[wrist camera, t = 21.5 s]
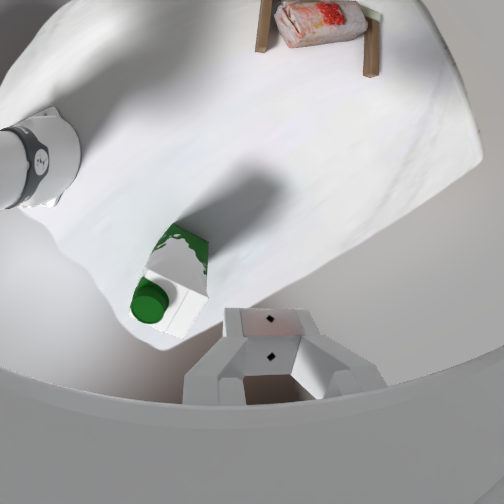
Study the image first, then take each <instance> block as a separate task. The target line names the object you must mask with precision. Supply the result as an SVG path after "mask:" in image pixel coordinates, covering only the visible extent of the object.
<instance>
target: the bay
mask: <svg viewBox="0 0 504 504" xmlns="http://www.w3.org/2000/svg"><path fill="white" fill-rule="evenodd" d="M280 1H286V2H292V1H296V0H280ZM321 1H322V0H306V1H305V2H321ZM330 1H347V0H330ZM360 6H361V5H360ZM361 8H362V10H363V12H364V15H365V19H366V20H367V22H368V28H367V29H366V30H367V31H365V34H364V66H363V76H366V77H369V78H371V77H375V76H378V74H379V22H380V13H378V12H376V11H374V10H371V9H369V8H366V7H364V6H361ZM271 9H272V0H261V6H260V14H259V22H258V30H257V38H256V47H255V52H261V53H264V52H265V51H266V49H267V46H268V37H269V27H270V18H271Z"/></svg>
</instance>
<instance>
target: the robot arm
mask: <svg viewBox="0 0 504 504" xmlns="http://www.w3.org/2000/svg"><path fill="white" fill-rule="evenodd" d="M46 114H47V116H45V115H46ZM80 156H81V151H80V143H79V139H78V136H77V134H76V132H75V130H74V129H73V127H72V126H71V125H70V124H69V123H68V122H66V121H65V120H63V119H62V118H61V116H60V114H59V112H58V110H57V109H56V108H55V107H49V108H47V109H45V110H43V111H40V112H38V113H36V114H34V115H32V116H30V117H28V118H27V119H25V120H23V121H21V122H19V123H17V124H16V125H14V126H11V127H7V128H3V129H1V130H0V211H1V210H3V209H10V208H13V207H17V206H19V205H20V207H21V208H25V207H27V206H28V207H29V208H32V207H35V206H37V205H39V206H43V207H47V208H52V207H54V206H56V204H57V202H58V200H59V198H60V195H61V194H62V193H63V192H64V191H65V190H66V189H67V188H68V187H69V186H70V184H71V183H72V182H73V180H74V178H75V176H76V174H77V172H78V168H79V164H80ZM275 374H277V375H278V374H291V375H292V377H294V378H295V379H296V380H297V381H298V382H299V383H300V384H301V385H302V386H303V387H304V388H306V390H307V391H309V392H310V393H311V394H312V395H313V396H314V397H315V398H316V399H317V400H310V401H301V402H292V403H280V404H266V405H246V400H245V394H244V387H243V381H242V379H243V378H244V376H254V375H275ZM0 504H504V345H503V346H501V347H499V348H497V349H495V350H493V351H490V352H488V353H486V354H484V355H481V356H479V357H477V358H474V359H472V360H469V361H467V362H464V363H462V364H459V365H456V366H453V367H451V368H448V369H445V370H442V371H439V372H436V373H433V374H430V375H427V376H424V377H421V378H417V379H414V380H411V381H407V382H403V383H399V384H396V385H392V386H387V384H386V382H385V381H384V379H383V377H382V376H381V374H380V372H379V371H378V369H377V367H376V366H375V365H374V364H373V363H371V362H369V361H368V360H366V359H364V358H363V357H361V356H359V355H358V354H355V353H354V352H352V351H351V350H349V349H347V348H346V347H344V346H342V345H341V344H339V343H337V342H336V341H334V340H332V339H331V338H329V337H327V336H326V335H320V333H319V331H318V329H317V327H316V325H315V323H314V321H313V319H312V317H311V315H310V313H309V311H308V309H306V308H294V309H250V308H225V309H224V320H223V337H222V338H221V339H220V340H219V341H218V342H217V343H216V344H215V345H214V346H213V347H212V348H211V349H210V350H209V351H208V352H207V353H206V354H205V355H204V356H203V357H202V359H200V360H199V361H198V363H196V364H195V366H193V368H192V369H191V370H190V371H189V372H188V373H187V374H186V375H185V377H184V390H183V404H168V403H157V402H148V401H139V400H132V399H125V398H118V397H112V396H106V395H100V394H95V393H90V392H85V391H81V390H77V389H72V388H68V387H64V386H60V385H57V384H53V383H49V382H46V381H43V380H39V379H36V378H32V377H29V376H26V375H24V374H20V373H18V372H15V371H12V370H9V369H7V368H4V367H2V366H0Z"/></svg>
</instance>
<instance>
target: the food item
mask: <svg viewBox="0 0 504 504" xmlns="http://www.w3.org/2000/svg"><path fill="white" fill-rule="evenodd" d="M305 1H306V0H296V1H292V2H288V3H286V4H284V5H282V4H281V5H280V6H278V9H277V11H276V13H275V14H274V18H275V20H276V24H277V27H278V30H279V32H280V34H281V35H282V36H283V38H284V40H285V42H286V44H287V45H288V46H289V48H298V47H307V46H314V45H321V44H326V43H334V42H342V41H349V40H353V39H355V38H356V37H358V36H359V35H360V34H362V33H364V32H365V31H367V30H366V29H367V28H368V22H367V20H366V19H365V15H364V12H363V10H362V8H361V6H360V5H359V3H358V2H357V1H330V0H322V1H321V2H305Z"/></svg>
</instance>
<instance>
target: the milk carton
mask: <svg viewBox="0 0 504 504" xmlns="http://www.w3.org/2000/svg"><path fill="white" fill-rule="evenodd" d="M208 243H209V242H207V241H205V240H203V239H201V238H199V237H197V236H195V235H193V234H192V233H190V232H188V231H186V230H184V229H182V228H180V227H178V226H176V225H174V224H172V225H171V226H170V227H169V229H168V230H167V231H166V232H165V233H164V235H163V236H162V237H161V238H160V240H159V241H158V243H157V244H156V246H155V248H154V249H153V251H152V253H151V255H150V257H149V259H148V261H147V263H146V265H145V267H144V269H143V271H142V274H141V277H140V279H139V282H138V285H137V287H136V289H135V291H134V295H133V299H132V302H131V305H130V309H129V312H128V315H129V316H131V317H132V318H134V319H137V320H139V321H140V322H142V323H145V324H147V325H149V326H151V327H153V328H155V329H157V330H159V331H161V332H163V333H165V332H166V333H168V334H171V335H173V336H175V337H178V338H180V339H184V337H185V335H186V334H187V332H188V331H189V329H190V327H191V326H192V324H193V323H194V321H195V319H196V318H197V316H198V315H199V313H200V311H201V310H202V308H203V307H204V305H205V303H206V302H207V300H208V299H209V297H208V294H207V292H206V286H207V265H208Z"/></svg>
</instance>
